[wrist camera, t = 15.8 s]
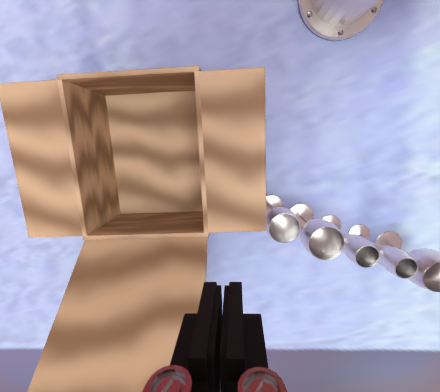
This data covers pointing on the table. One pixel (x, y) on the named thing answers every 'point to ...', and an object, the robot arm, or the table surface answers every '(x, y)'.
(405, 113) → the table surface
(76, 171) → the carton
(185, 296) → the lid flap
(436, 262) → the goblet set
